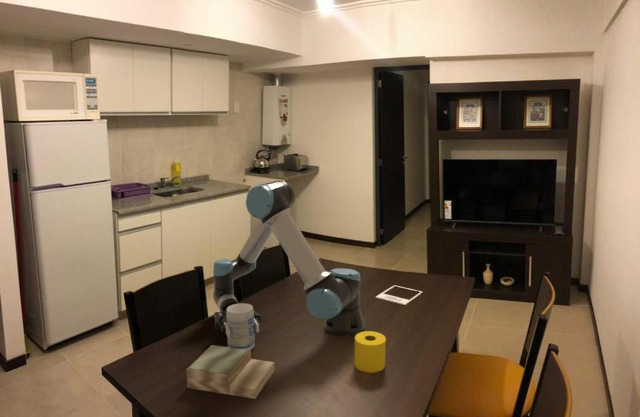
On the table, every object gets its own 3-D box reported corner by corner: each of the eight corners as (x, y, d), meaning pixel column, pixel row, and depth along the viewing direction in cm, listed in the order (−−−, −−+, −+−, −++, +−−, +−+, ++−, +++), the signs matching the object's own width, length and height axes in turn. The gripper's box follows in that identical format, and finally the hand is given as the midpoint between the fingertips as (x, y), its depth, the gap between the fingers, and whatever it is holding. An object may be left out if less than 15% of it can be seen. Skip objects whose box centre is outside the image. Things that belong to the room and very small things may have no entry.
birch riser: (274, 370, 154) (274, 352, 153) (255, 398, 139) (254, 379, 138) (212, 361, 160) (211, 344, 159) (187, 387, 145) (186, 368, 144)
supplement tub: (256, 352, 167) (254, 312, 164) (228, 355, 164) (226, 314, 162) (253, 339, 176) (252, 301, 173) (227, 342, 174) (225, 304, 171)
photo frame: (375, 296, 215) (394, 284, 229) (375, 298, 215) (394, 287, 230) (405, 303, 207) (422, 291, 221) (405, 306, 207) (422, 293, 221)
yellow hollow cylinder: (354, 356, 163) (354, 331, 161) (383, 357, 163) (384, 331, 161) (355, 372, 154) (355, 345, 152) (386, 372, 153) (387, 345, 151)
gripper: (257, 311, 190) (274, 335, 169) (200, 320, 181) (211, 347, 161) (257, 293, 188) (274, 315, 168) (199, 302, 180) (210, 326, 160)
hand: (243, 331), depth 164 cm, fingers closed on supplement tub, 9 cm apart
